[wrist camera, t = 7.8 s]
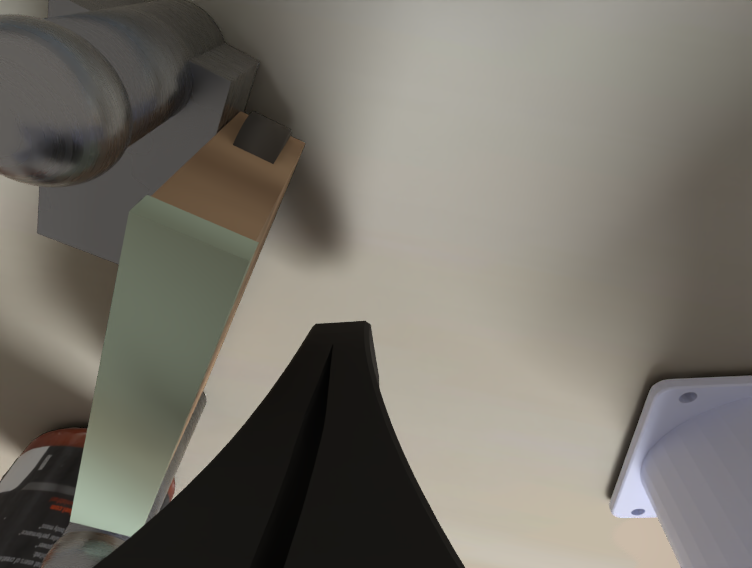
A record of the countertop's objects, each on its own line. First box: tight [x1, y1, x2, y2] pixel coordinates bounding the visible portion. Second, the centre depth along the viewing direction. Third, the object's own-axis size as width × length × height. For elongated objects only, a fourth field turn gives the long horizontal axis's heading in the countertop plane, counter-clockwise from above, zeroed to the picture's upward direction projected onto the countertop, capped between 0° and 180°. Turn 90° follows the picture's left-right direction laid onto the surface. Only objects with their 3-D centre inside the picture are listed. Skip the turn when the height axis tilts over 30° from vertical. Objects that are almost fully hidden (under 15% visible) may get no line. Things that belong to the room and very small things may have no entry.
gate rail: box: [70, 111, 305, 537], centre depth 10 cm, size 10×2×5 cm, turn 153°
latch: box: [0, 0, 260, 264], centre depth 8 cm, size 6×3×6 cm, turn 153°
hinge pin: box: [40, 392, 206, 568], centre depth 13 cm, size 2×2×7 cm
